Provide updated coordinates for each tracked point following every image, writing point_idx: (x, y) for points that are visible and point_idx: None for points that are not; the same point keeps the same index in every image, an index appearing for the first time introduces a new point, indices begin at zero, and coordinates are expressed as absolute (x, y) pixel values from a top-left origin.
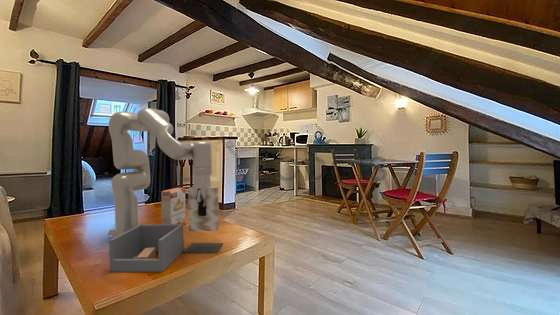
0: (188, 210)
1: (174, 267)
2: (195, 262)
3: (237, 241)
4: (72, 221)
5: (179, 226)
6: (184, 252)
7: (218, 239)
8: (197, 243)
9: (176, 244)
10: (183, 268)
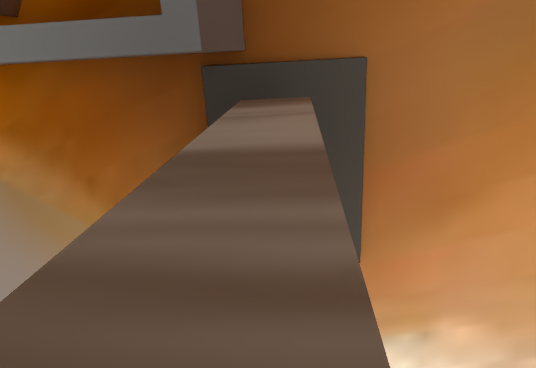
0: (180, 153)
1: (22, 106)
2: (99, 189)
3: (403, 322)
4: None
5: (119, 43)
6: (203, 75)
7: (454, 210)
8: (355, 104)
9: (94, 58)
10: (25, 157)
